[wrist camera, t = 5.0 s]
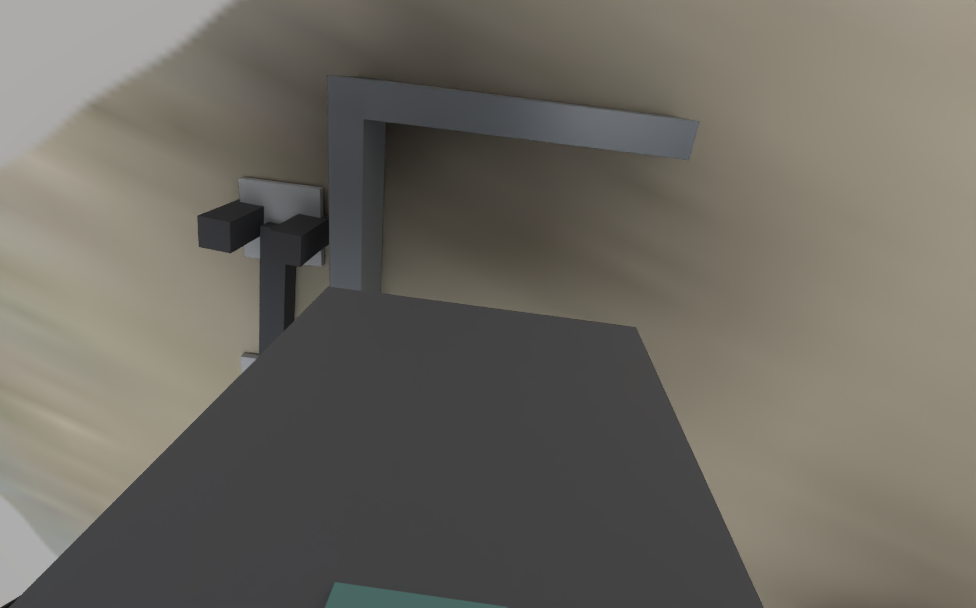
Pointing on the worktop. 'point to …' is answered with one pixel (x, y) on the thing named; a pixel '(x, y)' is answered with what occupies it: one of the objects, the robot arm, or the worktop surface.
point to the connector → (419, 477)
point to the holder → (374, 102)
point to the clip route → (271, 243)
